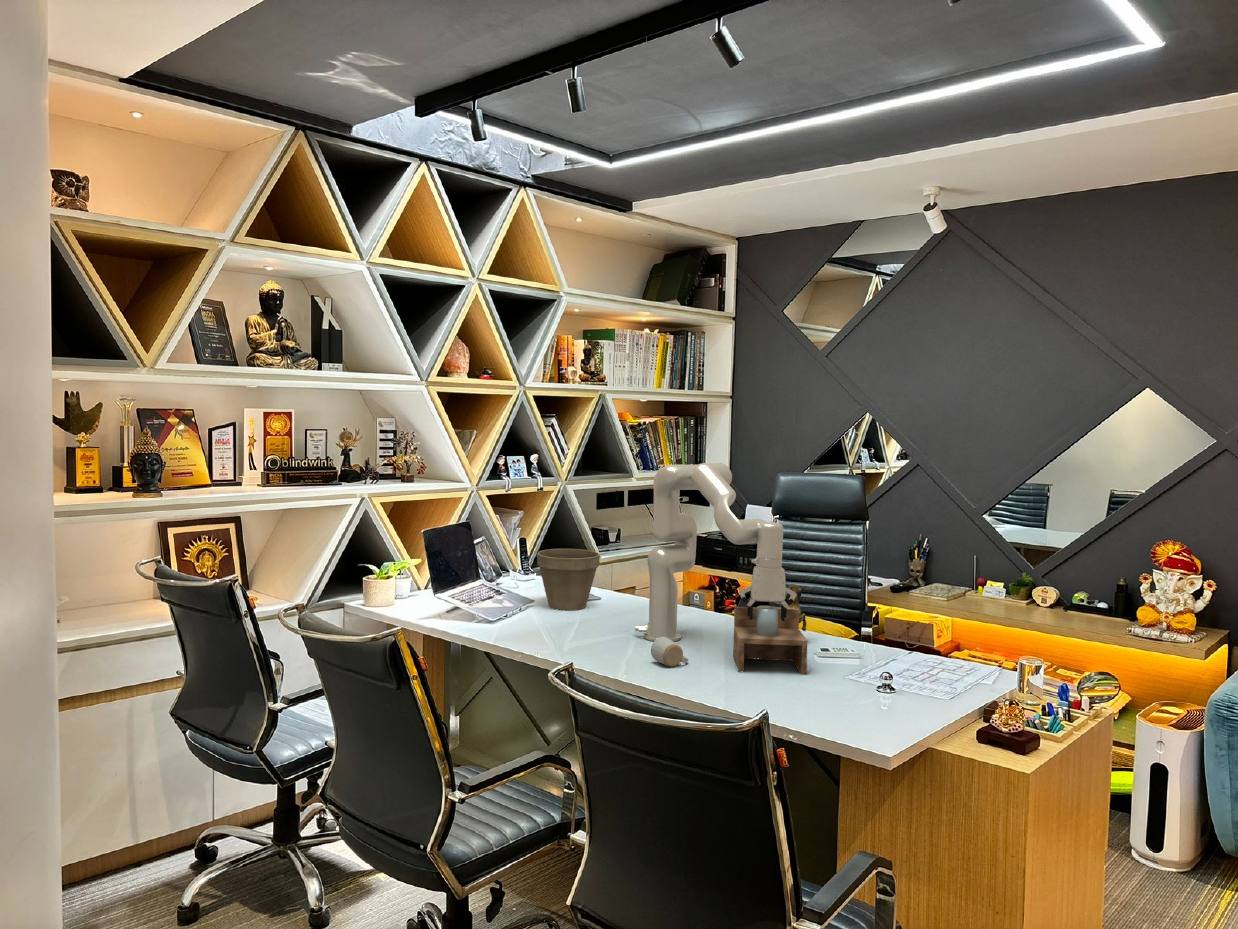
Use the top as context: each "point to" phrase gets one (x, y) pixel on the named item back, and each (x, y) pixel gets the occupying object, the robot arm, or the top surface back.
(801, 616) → the figurine
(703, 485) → the robot arm
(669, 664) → the ceramic mug
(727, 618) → the top surface
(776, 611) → the grey cylinder
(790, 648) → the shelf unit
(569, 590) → the plant pot
